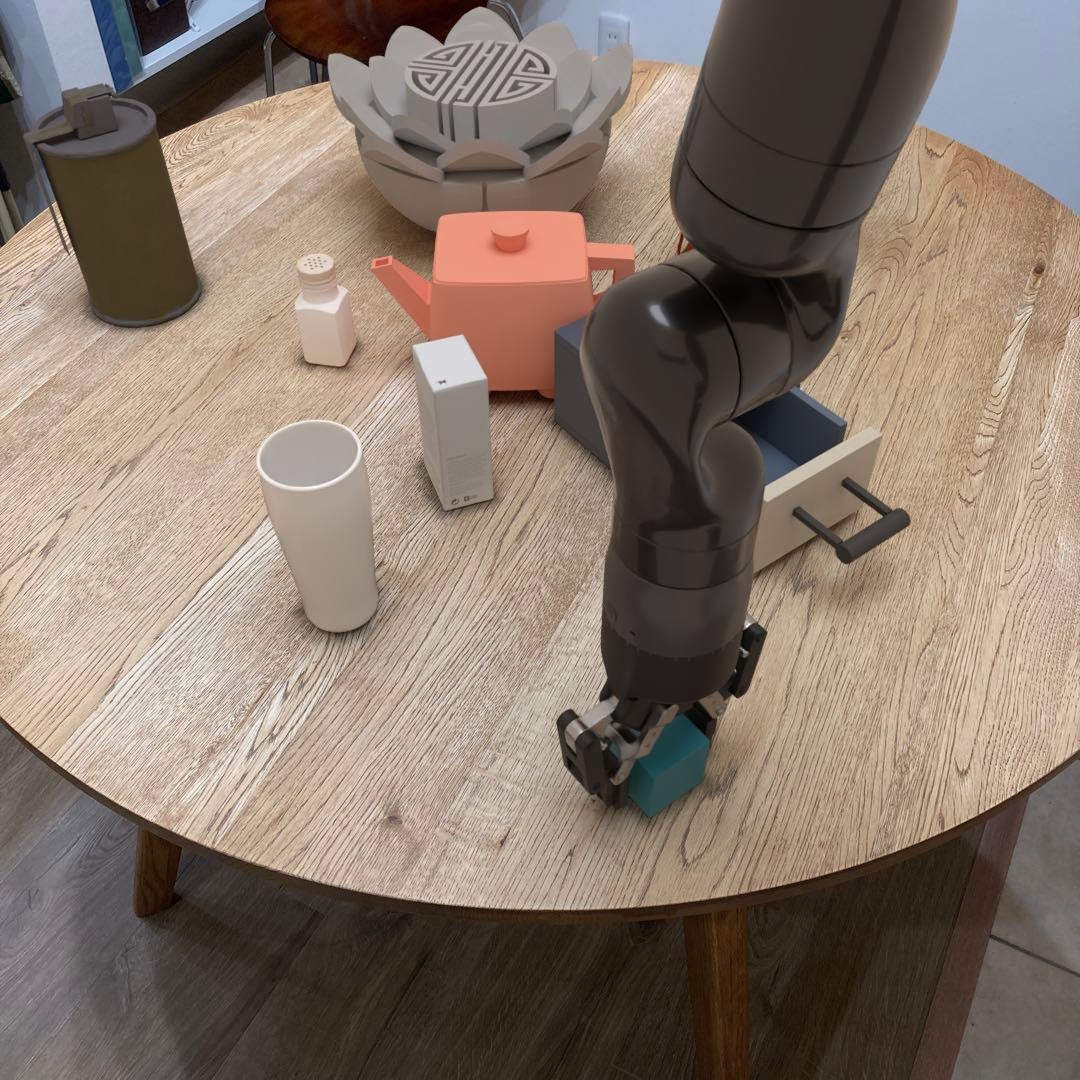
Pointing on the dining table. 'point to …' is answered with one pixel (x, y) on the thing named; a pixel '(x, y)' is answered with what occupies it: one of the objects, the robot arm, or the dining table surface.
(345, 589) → the drinking glass
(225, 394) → the dining table surface
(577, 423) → the storage box
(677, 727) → the teal block
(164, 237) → the canister
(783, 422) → the drawer
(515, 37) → the decorative bowl
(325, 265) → the salt shaker
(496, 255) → the teapot
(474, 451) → the cosmetic box
